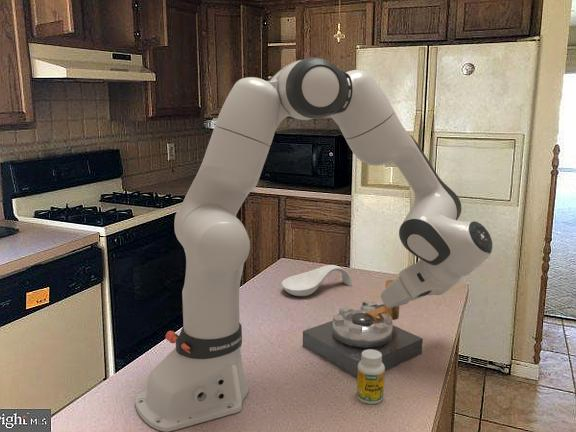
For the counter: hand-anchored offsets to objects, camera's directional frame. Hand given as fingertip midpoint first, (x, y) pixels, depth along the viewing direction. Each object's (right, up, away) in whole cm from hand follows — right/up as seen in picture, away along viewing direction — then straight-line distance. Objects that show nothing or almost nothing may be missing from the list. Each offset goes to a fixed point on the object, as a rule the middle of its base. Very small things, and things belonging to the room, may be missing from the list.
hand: (400, 302), depth 125 cm
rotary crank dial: (-8, -7, -1) cm, 10 cm away
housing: (-10, -11, -2) cm, 15 cm away
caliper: (-1, -7, +20) cm, 21 cm away
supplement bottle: (-11, -16, -21) cm, 28 cm away
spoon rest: (-18, -3, +37) cm, 41 cm away
